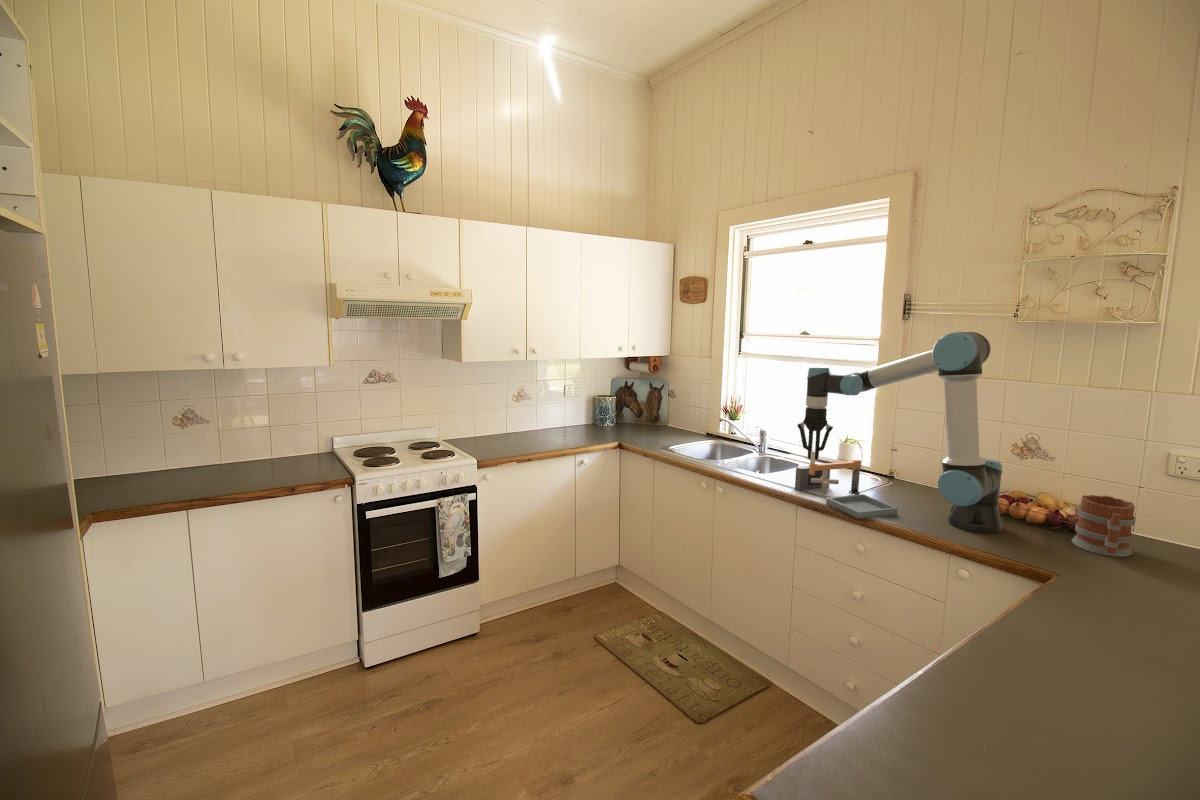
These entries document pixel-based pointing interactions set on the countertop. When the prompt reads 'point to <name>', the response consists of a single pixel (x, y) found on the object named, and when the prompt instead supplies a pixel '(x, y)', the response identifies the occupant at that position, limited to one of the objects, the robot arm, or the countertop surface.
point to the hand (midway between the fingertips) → (812, 467)
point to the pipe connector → (824, 481)
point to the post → (855, 482)
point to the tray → (861, 506)
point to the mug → (1105, 526)
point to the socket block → (807, 479)
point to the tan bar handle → (834, 466)
